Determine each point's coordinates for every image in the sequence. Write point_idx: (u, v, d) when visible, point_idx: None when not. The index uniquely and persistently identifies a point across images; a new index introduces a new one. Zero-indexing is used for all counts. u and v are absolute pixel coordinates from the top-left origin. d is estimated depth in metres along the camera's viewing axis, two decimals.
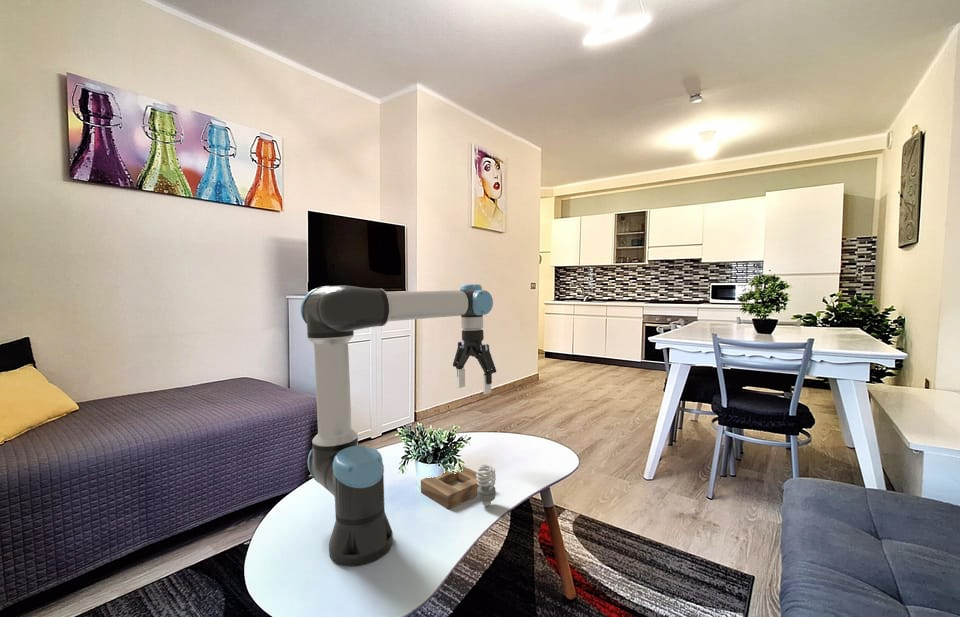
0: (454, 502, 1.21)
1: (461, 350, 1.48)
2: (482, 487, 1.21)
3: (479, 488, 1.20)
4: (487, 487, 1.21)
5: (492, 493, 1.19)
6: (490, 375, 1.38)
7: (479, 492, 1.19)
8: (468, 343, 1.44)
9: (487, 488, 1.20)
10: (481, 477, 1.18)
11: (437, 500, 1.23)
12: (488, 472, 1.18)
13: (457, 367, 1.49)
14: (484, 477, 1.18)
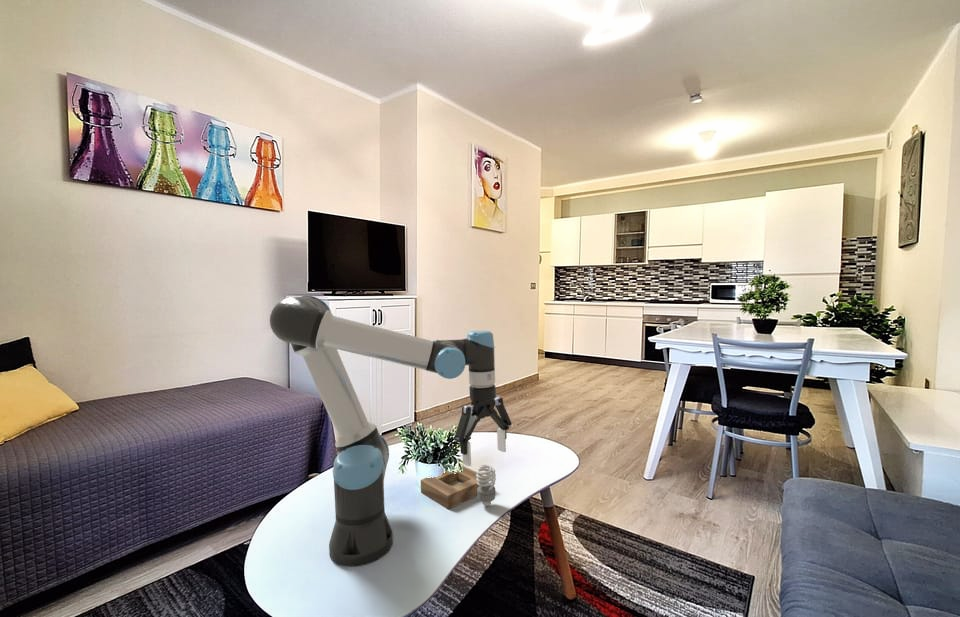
0: (454, 502, 1.21)
1: (498, 407, 1.24)
2: (482, 487, 1.21)
3: (479, 488, 1.20)
4: (487, 487, 1.21)
5: (492, 493, 1.19)
6: (461, 444, 1.14)
7: (479, 492, 1.19)
8: None
9: (487, 488, 1.20)
10: (481, 477, 1.18)
11: (437, 500, 1.23)
12: (488, 472, 1.18)
13: (499, 425, 1.26)
14: (484, 477, 1.18)
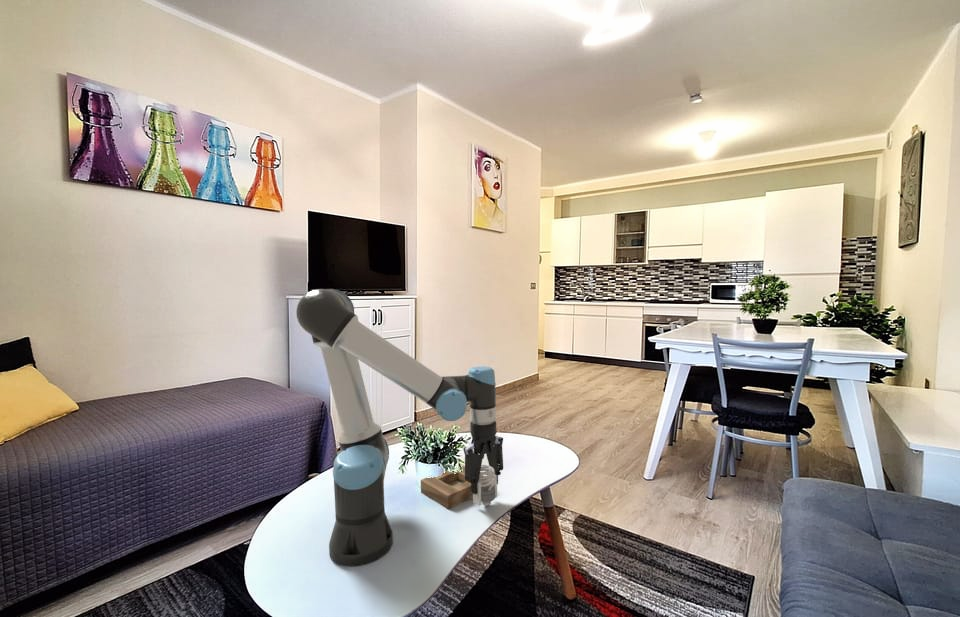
0: (454, 502, 1.21)
1: (496, 446, 1.24)
2: (482, 487, 1.21)
3: None
4: (487, 487, 1.21)
5: (492, 493, 1.19)
6: (472, 484, 1.17)
7: None
8: None
9: (487, 488, 1.20)
10: (481, 477, 1.18)
11: (437, 500, 1.23)
12: (487, 472, 1.18)
13: None
14: (484, 477, 1.18)
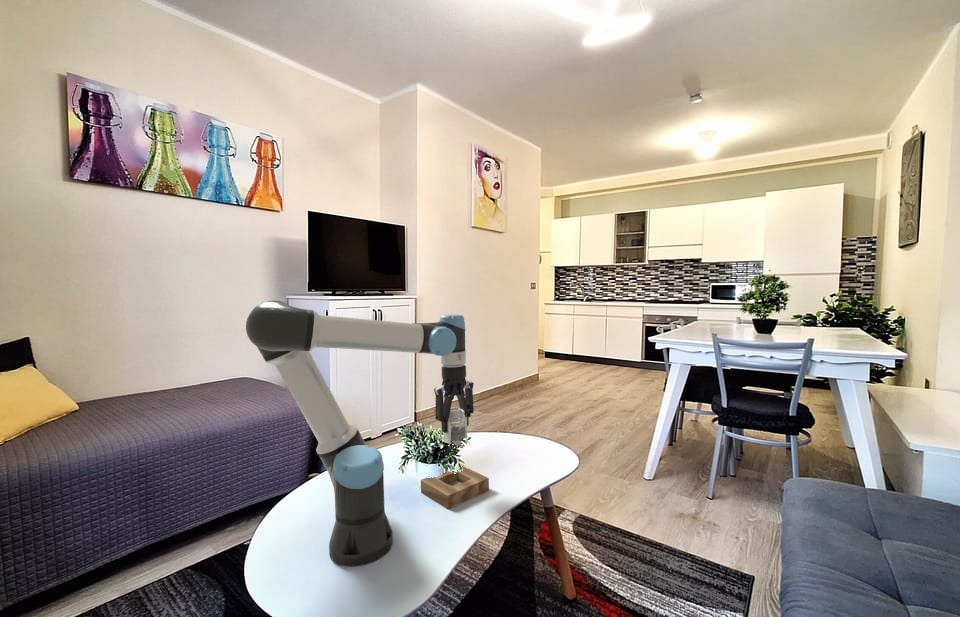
0: (454, 502, 1.21)
1: (466, 391, 1.31)
2: (452, 428, 1.28)
3: None
4: (457, 428, 1.28)
5: (461, 432, 1.26)
6: (442, 423, 1.25)
7: None
8: None
9: (457, 428, 1.28)
10: (450, 417, 1.25)
11: (437, 500, 1.23)
12: (457, 412, 1.25)
13: None
14: (453, 417, 1.25)
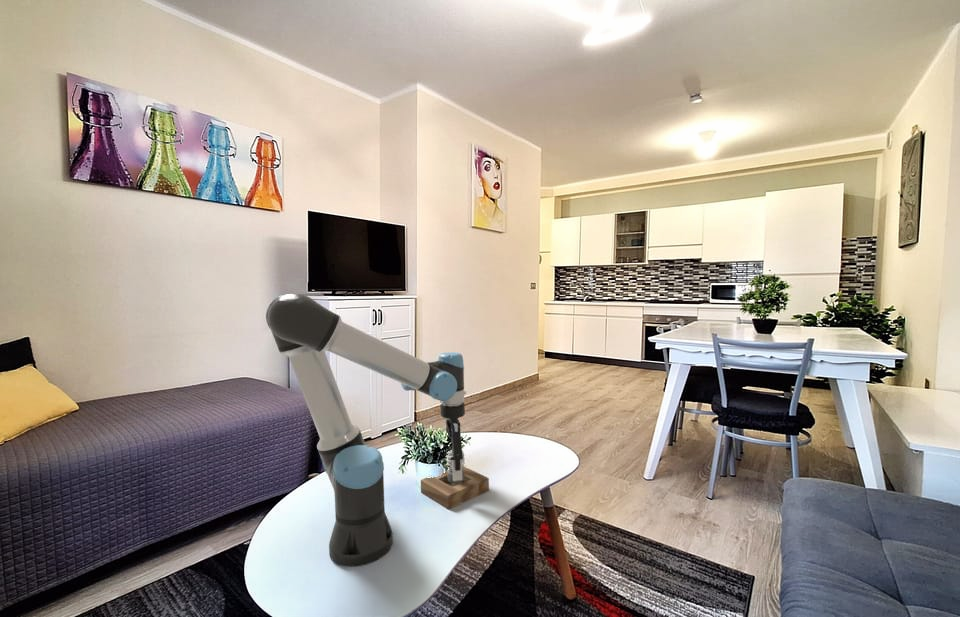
0: (454, 502, 1.21)
1: None
2: None
3: (452, 473, 1.28)
4: None
5: (463, 472, 1.30)
6: (458, 461, 1.21)
7: None
8: None
9: None
10: None
11: (437, 500, 1.23)
12: (463, 453, 1.29)
13: None
14: None
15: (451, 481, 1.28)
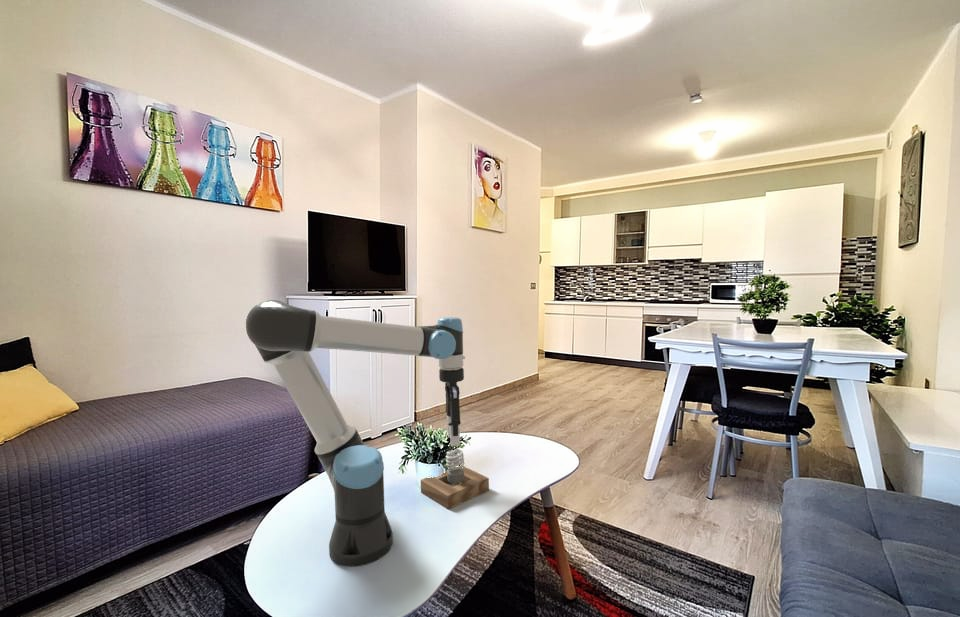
0: (454, 502, 1.21)
1: None
2: (452, 471, 1.29)
3: (452, 473, 1.28)
4: (455, 470, 1.30)
5: (463, 472, 1.30)
6: (455, 426, 1.24)
7: (456, 475, 1.27)
8: None
9: (457, 470, 1.30)
10: (459, 460, 1.27)
11: (437, 500, 1.23)
12: (462, 453, 1.29)
13: (447, 413, 1.33)
14: (461, 459, 1.28)
15: (451, 481, 1.28)
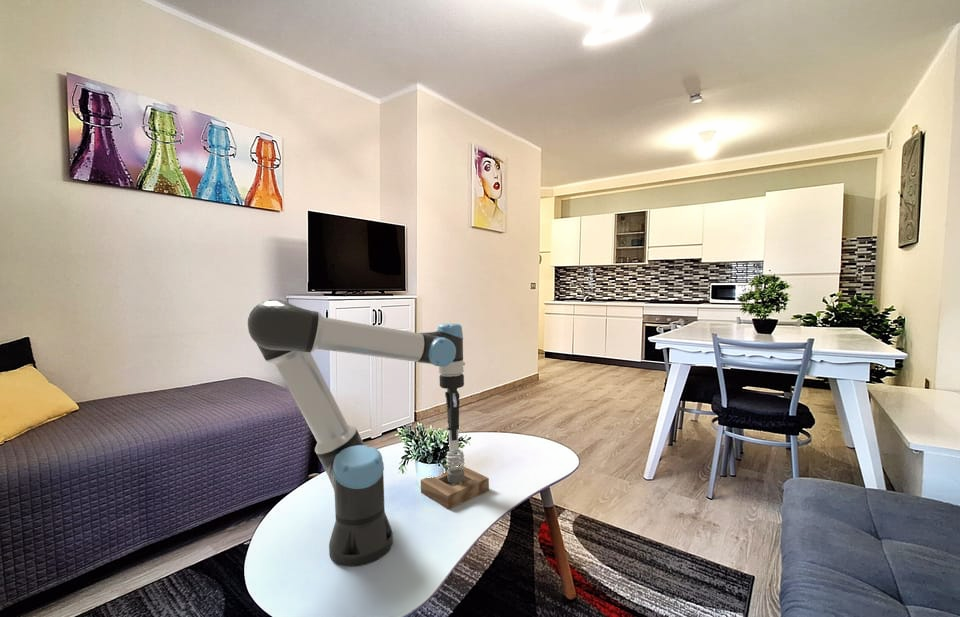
0: (454, 502, 1.21)
1: None
2: (453, 471, 1.29)
3: (452, 473, 1.28)
4: (455, 470, 1.30)
5: (463, 472, 1.30)
6: (454, 431, 1.27)
7: (456, 475, 1.27)
8: None
9: (457, 470, 1.30)
10: (459, 460, 1.27)
11: (437, 500, 1.23)
12: (462, 453, 1.29)
13: None
14: (461, 459, 1.28)
15: (451, 481, 1.28)
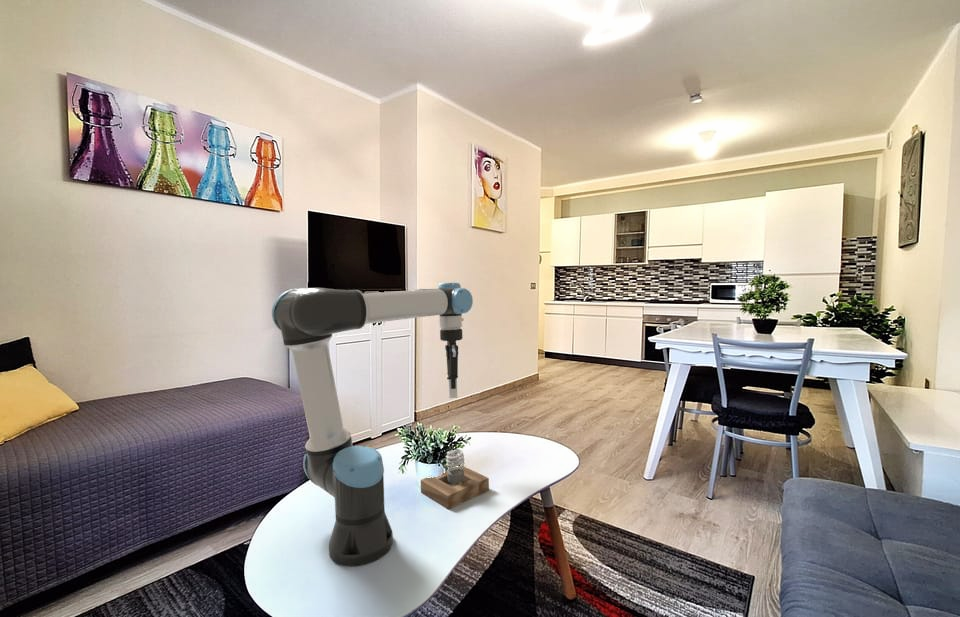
0: (454, 502, 1.21)
1: None
2: (453, 471, 1.29)
3: (452, 473, 1.28)
4: (455, 470, 1.30)
5: (463, 472, 1.30)
6: (453, 380, 1.39)
7: (456, 475, 1.27)
8: None
9: (457, 470, 1.30)
10: (459, 460, 1.27)
11: (437, 500, 1.23)
12: (462, 453, 1.29)
13: (448, 375, 1.42)
14: (461, 459, 1.28)
15: (451, 481, 1.28)
